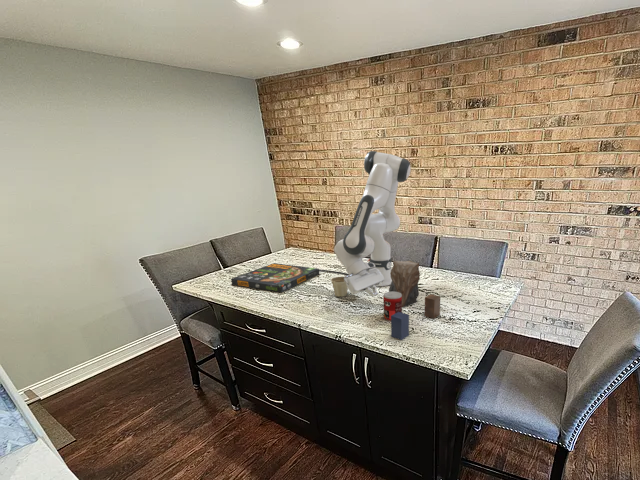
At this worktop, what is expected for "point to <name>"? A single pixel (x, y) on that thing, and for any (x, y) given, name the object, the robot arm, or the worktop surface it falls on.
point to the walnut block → (432, 306)
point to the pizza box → (275, 277)
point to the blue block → (399, 325)
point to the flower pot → (339, 286)
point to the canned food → (392, 304)
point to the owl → (405, 280)
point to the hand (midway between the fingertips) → (375, 295)
